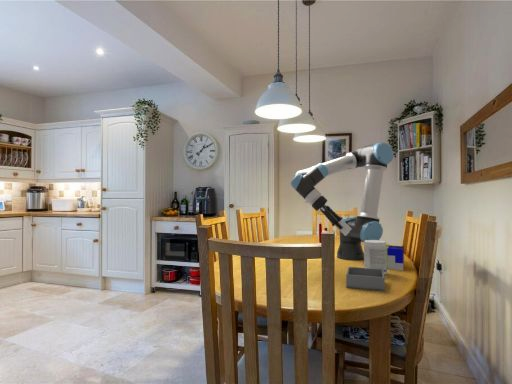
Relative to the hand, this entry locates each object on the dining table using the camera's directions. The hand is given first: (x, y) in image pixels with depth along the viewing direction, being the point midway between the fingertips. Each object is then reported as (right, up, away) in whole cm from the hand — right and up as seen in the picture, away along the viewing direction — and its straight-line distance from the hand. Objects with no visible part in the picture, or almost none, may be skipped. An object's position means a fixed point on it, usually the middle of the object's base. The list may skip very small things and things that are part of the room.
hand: (348, 232), depth 142 cm
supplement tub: (+11, -18, -4) cm, 22 cm away
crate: (0, -18, -21) cm, 28 cm away
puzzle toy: (+24, -19, +8) cm, 31 cm away
